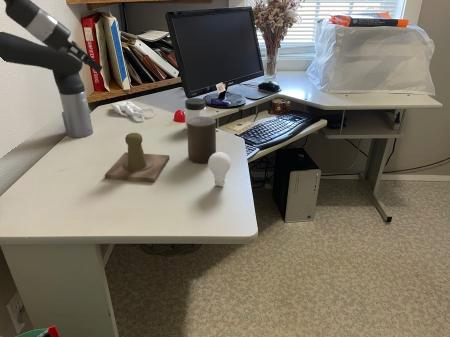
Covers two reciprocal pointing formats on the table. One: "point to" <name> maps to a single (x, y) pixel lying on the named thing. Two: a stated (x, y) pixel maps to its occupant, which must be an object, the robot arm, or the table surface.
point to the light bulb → (219, 167)
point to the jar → (194, 108)
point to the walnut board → (144, 175)
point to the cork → (135, 152)
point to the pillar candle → (201, 138)
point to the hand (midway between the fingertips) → (97, 67)
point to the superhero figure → (130, 109)
